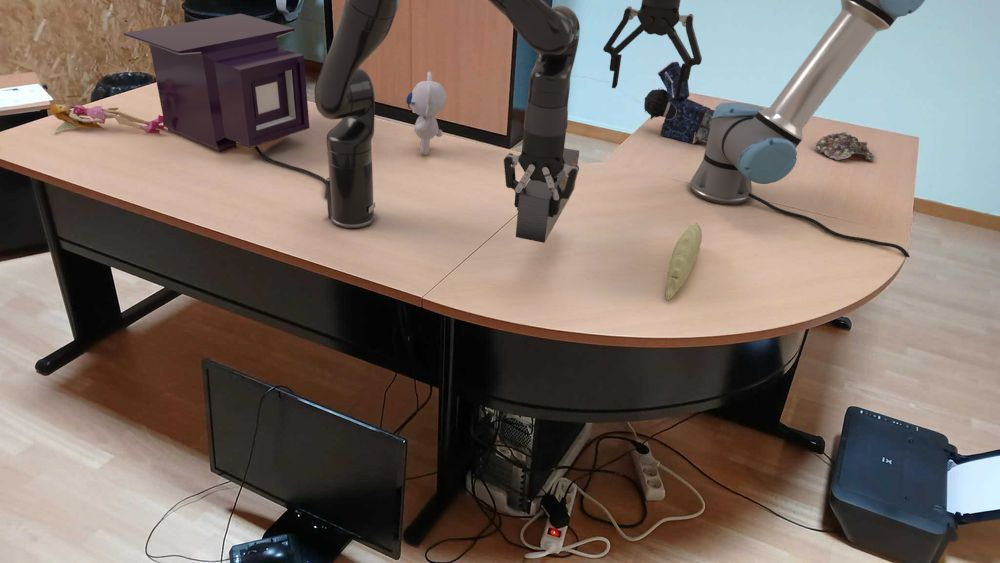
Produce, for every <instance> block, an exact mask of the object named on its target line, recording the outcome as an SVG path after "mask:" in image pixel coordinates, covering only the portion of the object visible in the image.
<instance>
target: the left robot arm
mask: <svg viewBox="0 0 1000 563" xmlns="http://www.w3.org/2000/svg"><path fill="white" fill-rule="evenodd" d="M487 1H488V2H489V3H491V5H492V6H494V7H495V8H496V9H497V10H498V11H499V12H500V13H501V14H503V15H504V16H505V17H506V18H507V19H508V20H509V22H510V24H511V26H512V27H513V28H514V29H515V30H516V31H517V33H518V34H519V35H520V37H521V38H522V39H523V40H524V42H525V43H526V44H527V45H528V47H530V48H531V49H532V50H533V51H534V52H536V53H537V54H536V61H535V64H534V67H533V68H532V70H531V72H530V75H529V80H528V81H529V82H528V90H527V91H528V92H527V101H526V102H527V103H526V107H525V110H524V111H525V112H524V120H523V121H524V122H523V133H522V145H521V153H520V154H519V155H517V154H515V155H514V153H512V152H509V153H508V154H507V155H506V156H505V157H504V158H503V168H504V179H505V187H506V188H508V189H512V190H514V193H515V194H514V204H513V205H514V207H515V208H516V211H518V204H519V194H520V193H521V191H522V190H523V189H524V187H525V186H526V184H527V183H528V181H529V180H533V181H541V182H543V183H547V185H548V188H549V190H551V193H552V196H553V199H552V201H551V210H550V217H553V218H554V216H555V215H557V213H558V212H559V209H560V201H561V199H563V198H564V199H568V198H569V196H570V194H571V193H572V194H573V192H572V190H573V187H574V184H575V185H576V180H577V177H578V174H579V171H580V166H579V165H574V166H571V165H568V164H565V161H564V159H563V153H564V148H565V143H566V136H567V129H568V125H569V124H568V118H569V117H568V116H569V110H568V108H569V98H570V90H571V76H572V72H573V67H574V65H575V64H574V63H575V60H576V54H577V51H578V47H579V41H580V32H581V27H580V21H579V18H578V15H577V14H576V13H575V11H574V10H572V9H571V8H569V7H568V6H566V5H555V6H552V7H551V6H550V5H549V4H548V3H547V2H546V1H545V0H487ZM399 5H400V0H343V4H342V7H341V12H340V16H339V19H338V23H337V27H336V30H335V33H334V35H333V38H332V42H331V45H330V47H329V50H328V52H327V55H326V57H325V59H324V61H323V64H322V65H321V68H320V71H319V73H318V75H317V78H316V82H315V85H314V103H315V107H316V110H317V111H318V112H319V114H320V115H321V116H322V117H323V118H326V119H328V120H340V121H339V122H338V123H337V124H336V125H335V126H334V127H333V128H331V129H330V130H329V131H328V132H327V134H326V150H327V152H326V153H327V163H328V164H327V166H328V177H327V178H324V177H323V176H321V175H319V174H317V173H314V172H312V171H309V170H307V169H305V168H301V167H298V166H294V165H290V164H288V163H285V162H282V161H279V160H277V159H273V158H271V157H269V156H267V155H265V154H264V153H263V152H262V151H261V150H260V149H259V147H258V145H256V146H254V149H255V151H256V152H257V153H258V154H259V156H260V157H261V158H262V159H264V160H266V161H268V162H270V163H273V164H276V165H279V166H281V167H285V168H286V169H287V168H288V169H291V170H294V171H298V172H301V173H305V174H306V175H309V176H312V177H314V178H316V179H318V180H320V181H321V182H323V184H325V193H324V196H325V198H326V203H327V218H328V219H329V220H331V222H332V223H333V224H334V225H335V226H337V227H340V228H345V229H361V228H364V227H367V226H370V225H372V223H373V222H374V221H375V210H374V209H375V208H376V202H375V201H374V175H373V174H374V173H373V151H372V150H373V149H372V148H373V146H372V140H373V137H374V134H375V116H376V115H375V114H376V111H375V110H376V97H375V95H376V94H375V89H374V85H373V81H372V79H371V76H370V75H369V74H368V73H367V71H365V70H364V69H363V68H360V67H361V65H362V64H363V63H364V62H365V61H366V60H367V59H368V58H369V57H370V56H371V55H372V54H373V53H374V52H375V51H376V50H377V49H378V47H380V45H381V44H382V43H383V42H384V41H385V39H386V38H387V37H388V35H389V33H390V31H391V29H392V25H393V23H394V20H395V17H396V14H397V12H398V9H399ZM518 164H519V165H520V167H521V168H522V170H523V175H522V176H521V178H520V179H519V181H518V180H517V179H516V178H517V177H516V166H517V165H518ZM562 170H564V171H565V176H566V177H567V178H568V180H567V183H566V186H565V189H564V190H561V187H560V183H559V178H558V174H559V173H560V172H561V171H562ZM572 194H571V195H572ZM570 197H571V196H570ZM569 199H570V198H569Z"/></svg>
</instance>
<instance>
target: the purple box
mask: <svg viewBox="0 0 1000 563" xmlns="http://www.w3.org/2000/svg"><path fill="white" fill-rule="evenodd" d="M294 31H295V28H294V27H292V26H287V25H283V24H279V23H276V22H272V21H269V20H264V19H262V18H259V17H256V16H255V17H254V16H252V15H247V14H244V13H235V14H230V15H224V16H217V17H212V18H205V19H200V20H194V21H188V22H181V23H175V24H169V25H163V26H157V27H151V28H146V29H145V28H144V29H139V30H134V31H128V32H123V36H125V37H127V38H130V39H133V40H136V41H138V42H142V43H145V44H148V45H149V50H150V54H151V60H152V66H153V71H154V75H155V76H154V77H155V82H156V87H157V92H158V97H159V102H160V107H161V113H162V116H163V119H164V122H163V123H162V125H163V126H164V128H166V129H167V131H168V132H170V133H172V134H175V135H177V136H179V137H182V138H184V139H187V140H189V141H191V142H193V143H196V144H197V145H200V146H203V147H205V148H207V149H209V150H212V151H215V152H217V153H219V154H220V153H224V152H227V151H229V150H233V149H235V148H237V144H240V145H242V146H245V147H247V148H249V149H250V148H253V147H255V146H259V145H262V144H266V143H269V142H271V141H275V140H278V139H281V138H285V137H287V136H289V135H293V134H296V133H300V132H302V131H305V130H308V129H310V118H309V105H308V94H307V93H308V92H307V80H306V79H307V78H306V68H305V56H304V54H303V53H302V54H301V53H297V52H296V51H295V52H294V51H291V50H288V49H285V48H282V47H279V44H278V40H277V38H280V37H282V36H286V35H287V34H291V33H292V32H294Z"/></svg>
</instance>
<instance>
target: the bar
mask: <svg viewBox="0 0 1000 563" xmlns="http://www.w3.org/2000/svg"><path fill="white" fill-rule="evenodd" d="M579 158H580V150H578V149H571V148H567V147H564V153H563V159H564V161H565V164H568V165H571V166H574V165H577V166H579V165H578V164H579ZM558 178H559V183H560V187H561V190H564V189H565V186H566V183H567V180H568V178H567V177H566V176H565V171H564V170H562V171H561V172H560V173H559V174H558ZM575 188H576V183H575V184H574V187H573V190H572V193H571V194H570V196H569V198H568V199H564V198H563V199H561V201H560V209H559V212H558V213H557V215H555V216H554V218H553V217H550V210H551V201H552V199H553V196H552V193H551V190H549V188H548V185H547V183H543V182H541V181H533V180H530V179H529V180H528V182H527V183H526V185H525V187H524V189H523V190H522V191H521V193H520V194H519V204H518V210H517V215H516V216H517V217H516V228H515V238H517V239H523V240H526V241H527V240H528V241H533V242H538V243H542V244H545V243H546V241H547V240H548V238H549V236H550V235H551V232H552V231H553V229H554V227H555V225H556V223H557V221H558V220H559V218H560V216H561V214H562V212H563V210H564V209H565V207H566V206H567V203H568V201H569V200H570V198H571V196H572V194H573V192H574V191H575Z"/></svg>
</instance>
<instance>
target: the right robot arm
mask: <svg viewBox="0 0 1000 563" xmlns="http://www.w3.org/2000/svg"><path fill="white" fill-rule="evenodd" d="M925 1H926V0H840V3H841V11H840V12H839V14H838V15H837V16H836V18H835V19H834V20H833V22H832V23H831V25H829V27H828V28H827V30H826V31H825V32H824V33H823V35H822V36H821V38H820V39H819V40H818V42H817V43H816V44H815V46H814V47H813V49H812V50H811V51H810V52H809V54H808V55H807V56H806V58H805V59H804V61H803V62H802V63H801V65H800V66H799V68H798V69H797V70H796V71H795V72H794V74H793V75H792V77H791V78H790V79H789V81H788V82H787V84H786V85H785V86H784V88H783V89H782V90H781V92H780V93H779V94H778V96H777V97H776V99H775V100H774V101H773V102H772V104H771V105H770V106H769V107H767V108H763V107H762V106H760V105H757V104H752V103H748V102H747V103H746V102H737V101H736V102H735V101H734V102H733V101H731V102H728V101H727V102H721V103H719V104H717V105H716V106H715V108H714V109H713V110H714V113H713V116H712V122H711V126H710V131H709V136H708V140H707V142H706V145H705V150H704V154H703V159H702V161H701V163H700V165H699V166H698V168H697V169H696V171H695V173H694V174H693V176H692V179H691V181H690V184H689V189H690V191H691V193H693V194H694V196H696V197H698V198H700V199H702V200H704V201H707V202H710V203H713V204H717V205H726V206H727V205H729V206H734V205H742V204H745V203H747V202H749V201H750V199H751V198H752V199H754V200H755V201H757V202H759V203H761V204H762V205H764V206H767V207H768V208H770V209H772V210H774V211H775V212H778V213H781V214H784V215H786V216H791V217H795V218H799V219H802V220H805V221H808V222H809V223H812V224H814V225H816V226H817V227H819V228H820V229H822V230H823V231H825V232H826V233H828V234H831V235H833V236H835V237H838V238H841V239H845V240H850V241H855V242H861V243H867V244H873V245H877V246H882V247H887V248H892V249H893V248H894V249H896V250H898V251H900V252H901V253H902V254H903V255H904V257H906V258H910V255H909V253H908V251H907V250H906V249H905V248H904V247H903V246H901V245H898V244H897V243H896V244H895V243H891V242H886V241H879V240H875V239H870V238H865V237H860V236H853V235H848V234H844V233H840V232H837V231H834V230H832V229H831V228H828V227H827V226H826V225H824V224H823V223H821V222H819V221H818V220H816V219H814V218H812V217H809V216H806V215H803V214H800V213H797V212H792V211H789V210H785V209H782V208H780V207H777V206H775V205H774V204H772V203H770V202H768V201H767V200H764V199H763V198H761V197H759V196H757V195H756V194H753V193H752V192H753V186H752V183H754V184H757V185H758V184H759V185H768V184H773V183H776V182H779V181H781V180H782V179H784V178H785V177H787V176H788V175H789V174H790V173H791V172H792V171H793V169H794V168H795V165H796V163H797V160H798V159H797V156H798V151H797V147H798V146H799V145H800V144H801V142H802V141H803V140H804V137H803V129H804V127H805V126H806V124H808V122H809V121H810V120H811V118H812V117H813V116H814V115H815V113H816V112H817V110H818V109H819V108H820V106H821V105H822V104H823V102H824V101H825V100H826V98H827V97H828V96H829V95H830V93H831V92H832V91H833V89H834V88H835V87H836V86H837V84H839V82H840V80H841V79H842V78H843V76H845V74H846V73H847V71H848V70H849V69H850V68H851V66H852V65H853V64H854V62H856V60H857V58H858V57H859V56H860V55H861V53H862V52H863V51H864V49H865V48H866V47H867V46H868V44H869V43H870V42H871V40H872V39H873V38H874V36H875V35H876V34H877V33H878V32H882V31H885V30H889V29H890V28H891V26H892V25H893V24H894V23H895V21H896V20H897V19H898V18H901V17H906V16H907V15H910V14H913V13H915V12H916V11H917V10H918V9H919V8H920V7H921V6H922V5H923V4H924V3H925ZM640 5H641V6H640V8H639V9H637V8H633V7H632V6H631V5H630V6H627V7H626V8H625V9H624V12H623V16H622V19H621V20H620V22H619V24H618V25H617V27H616V28H615V30H614V31H613V32H612V35H611V36H610V37H609V38H608V40H607V42H606V43H605V45H604V46H603V48H602V50H603V52H604V53H607V54H609V55H610V60H609V61H610V62H609V71H610V72H613V76H612V82H611V89H616V88H617V86H618V82H619V76H620V70H621V64H622V63H621V62H622V55H623V54H620V53H621V52H623V50H624V49H625V48H627V46H628V45H630V44H631V43H632V42H633V41H634V40H635V39H636V38H637V37H638V36H640V35H641V34H642V33H643V32H645V33H646V34H647V35H657V36H662V37H663V36H665V35H667V37H668V39H669V40H670V41H671V43H672V44H673V46H674V48H675V50H676V51H677V53H678V55H679V56H680V58H681V60H682V61H683V63H682V64H681V65H680V66H681V71H680V77H679V82H678V87H677V92H676V98H679V97H680V94H681V88H682V83H683V81H684V82H687V81H688V82H689V79H690V75H691V71H692V67H693V66H700V65H701V64H702V60H703V57H702V54H701V50H700V47H699V43H698V40H697V36H696V33H695V28H694V15H693V13H689V14H686V15H685V14H683V15H682V14H680V5H681V0H641V4H640ZM635 17H637V19H638V21H639V23H640V24H639V25H638V26H637V27H636V28H634V30H633V31H632V32H630V34H628V35H627V36H626V37H625V38H624V39H623V40H622V41H621V42H620V43H619V44H617V45H616V46H615V47H614V46H613V45H614V44H615V42H616V41H617V39H618V38H619V36H620V35H621V34H622V32H623V30H624V29H625V27H626V26H627V24H628V23H629V22H630V21H631V20H633V19H634V18H635ZM679 22H680V23H681V25H682V27H684V28H685V32H686V35H687V36H686V37H687V40H688V43H689V46H690V49H691V53H692V57H691V55H690V53H689V52H688V50H687V48H686V46H685V45H684V43H683V41H682V39H681V37H680V36H679V34H678V31H677V30H676V28H675V26H676V25H677V24H678V23H679Z"/></svg>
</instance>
